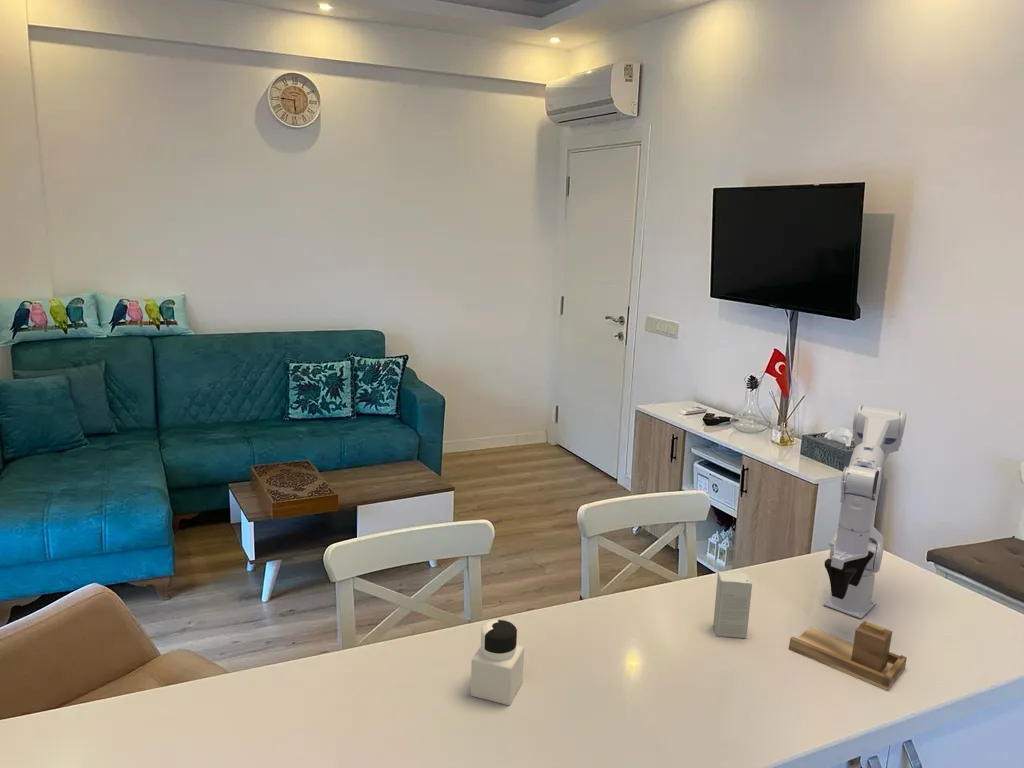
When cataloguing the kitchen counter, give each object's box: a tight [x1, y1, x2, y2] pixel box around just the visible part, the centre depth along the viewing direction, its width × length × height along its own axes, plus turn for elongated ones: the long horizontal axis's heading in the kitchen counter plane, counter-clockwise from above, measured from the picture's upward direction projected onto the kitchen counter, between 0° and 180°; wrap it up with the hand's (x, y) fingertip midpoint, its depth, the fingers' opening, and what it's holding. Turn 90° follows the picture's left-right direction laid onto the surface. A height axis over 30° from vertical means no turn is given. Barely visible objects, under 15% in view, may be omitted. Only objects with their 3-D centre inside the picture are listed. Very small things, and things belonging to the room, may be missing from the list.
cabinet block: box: [851, 620, 893, 673], centre depth 138 cm, size 4×5×8 cm
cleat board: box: [788, 626, 908, 691], centre depth 141 cm, size 10×18×2 cm, turn 47°
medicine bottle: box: [470, 619, 525, 706], centre depth 127 cm, size 7×7×12 cm
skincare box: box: [712, 571, 753, 639], centre depth 148 cm, size 6×4×12 cm
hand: (844, 590), depth 147 cm, fingers open, 7 cm apart
